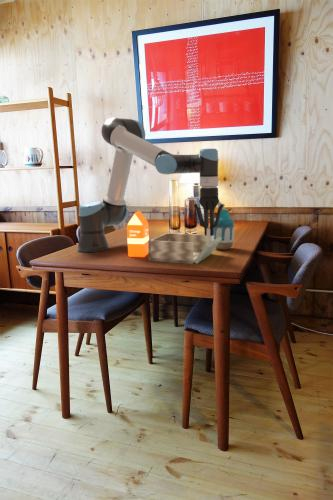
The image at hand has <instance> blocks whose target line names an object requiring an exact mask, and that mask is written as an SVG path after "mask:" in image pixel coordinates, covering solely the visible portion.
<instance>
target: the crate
mask: <svg viewBox="0 0 333 500" xmlns="http://www.w3.org/2000/svg"><path fill="white" fill-rule="evenodd" d="M206 245H207V236H205V234H199V233H198V234H195V233H177V232H176V233H173V232H166V233H164V234H161V235H158V236H155V237H154V238H152V239H149V240H148V251H149V254H148V261H149V262H162V263H163V262H165V263H175V264H188V265H194V263H195V262H194V261H195V260H196V258H197V257H198V255H199V254H200V253H201V251H202V250H203V249H204V247H205V246H206ZM195 264H196V263H195Z"/></svg>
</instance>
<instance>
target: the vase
mask: <svg viewBox="0 0 333 500" xmlns="http://www.w3.org/2000/svg"><path fill="white" fill-rule="evenodd" d="M217 211H218V209H217ZM215 219H216V217H214V223H215ZM218 237H221V238H222V240H221V241H220V242H219V244H218V245H217V246H216V248H215V250H221V251H226V250H229V249H231V248H232V247H233V245H234V241H235V222H234V219H233V218H232V217H231V216H230V210H229V209H225V208H223V209H222V212H221V216H220V220H219V225H218V226H217V227H214V235H213V236H212V241H213V240H215V239H216V238H218Z"/></svg>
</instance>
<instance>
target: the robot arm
mask: <svg viewBox="0 0 333 500" xmlns="http://www.w3.org/2000/svg"><path fill="white" fill-rule="evenodd" d="M145 130H146V129H145V127H144V125H143V124H142V122H140V121H139V120H135V119H131V118H119V117H111V118H108V119H106V120H105V122H104V123H103V124H102V126H101V130H100V132H101V136H102V139H103V140H104V141H105V142H106V143H108V144H109V145H111V146H112V147H114V149H115V152H114V157H113V163H112V168H111V173H110V177H109V178H110V179H109V184H108V188H107V193H106V195H105V196H104V197H103V198H102V201H90V202H84V203H82V204H80V205H79V207H78V217H79V220H78V221H79V231H80V234H79V235H80V236H79V240H78V243H77V251H79V252H83V253H97V252H103V251H107V250H108V249H109V247H110V246H109V242H108V240H107V239H108V238H107V236H106V234H105V227H108V226H109V227H110V226H117V225H120V224H123V223H124V222H125V221H126V220H127V218H128V216H129V209H128V205H127V204H126V201H125V195H126V189H127V184H128V180H129V175H130V171H131V166H132V161H133V157H134V156H135V157H137V158H138V159H141V160H142V161H145V162H146V163H148V164H150V165H152V166H154V168H155V170H156V171H157V172H158V173H159V174H160V175H161V174H162V175H173V174H195V173H196V174H197V173H198V174H199V186H200V188H199V200H198V202H197V203H194V204H193V207H194V208H195V210H196V214H197V219H198V223H199V226H200V227H202V228H204V235H205V236H207V244H208V243H210V242H212V236H213V235H214V227H217V226H218V225H219V220H220V216H221V212H222V209H224V208H225V206H226V205H225V204H224V203H222V202H221V201H220V199H219V188H218V186H219V153H218V152H219V151H218V149H217V148H201V149H199V152H198V154H173V153H171V152H168V151H166V150H164V149H163V148H161V147H159V146H158V145H155V144H153V143H151V142H149V141H148V140H145V138H146V132H145ZM216 207H217V208H218V209H217V210H218V211H217V212H216V216H215V209H216ZM202 208H203V213H202ZM214 218H216V219H215V223H214Z"/></svg>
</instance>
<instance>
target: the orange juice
mask: <svg viewBox="0 0 333 500" xmlns="http://www.w3.org/2000/svg"><path fill="white" fill-rule="evenodd" d="M149 233H150V232H149V221H148V220H147V219H146V217H145V216H144V215H143V213H142V211H141V210H138V211H136V212H134V214H133V215H132V217H131V218H130V219H129V221H128V222H127V225H126V234H127V236H126V239H127V240H126V241H127V255H128V256H127V257H131V258H135V257H136V258H145V257H146V256H147V255H149V254H148V253H149V251H148V240H150V237H149V236H150V234H149Z"/></svg>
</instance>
